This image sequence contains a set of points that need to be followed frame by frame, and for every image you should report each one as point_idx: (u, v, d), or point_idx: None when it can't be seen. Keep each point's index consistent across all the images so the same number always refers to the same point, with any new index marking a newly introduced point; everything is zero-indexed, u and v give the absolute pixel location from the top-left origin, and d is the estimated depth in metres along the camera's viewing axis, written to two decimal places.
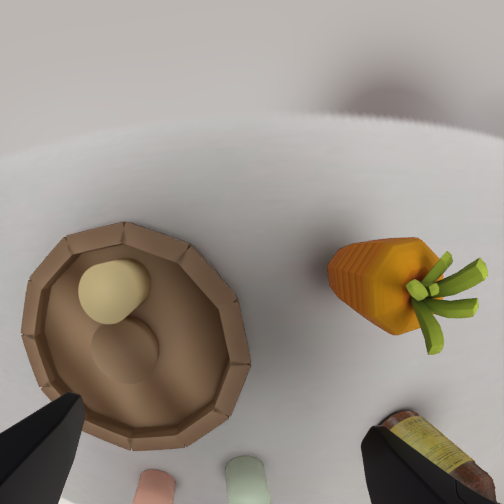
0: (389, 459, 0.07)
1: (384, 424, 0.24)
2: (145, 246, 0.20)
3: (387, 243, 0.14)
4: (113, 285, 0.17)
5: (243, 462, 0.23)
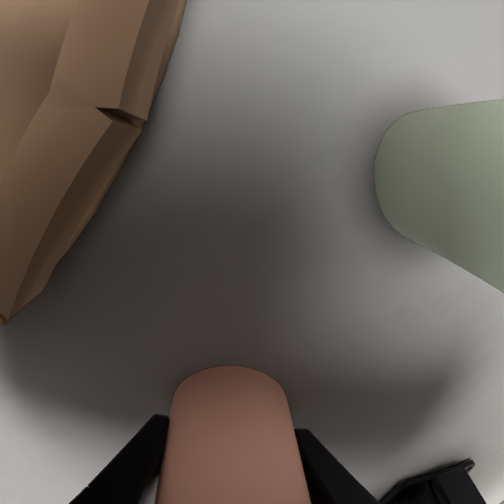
0: (306, 467, 0.07)
1: None
2: None
3: None
4: None
5: (414, 120, 0.06)
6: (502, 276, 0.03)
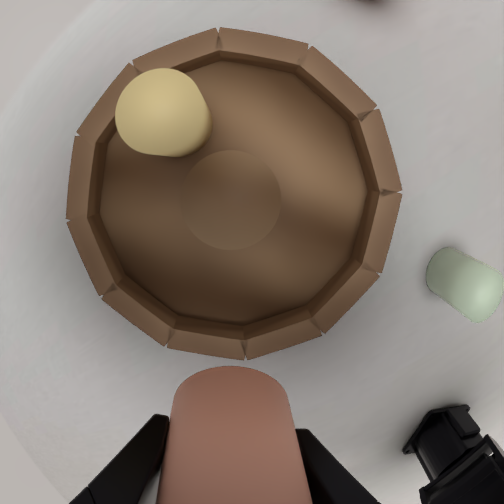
0: (307, 467, 0.07)
1: None
2: (171, 61, 0.13)
3: None
4: (160, 90, 0.11)
5: (442, 258, 0.18)
6: (460, 310, 0.16)
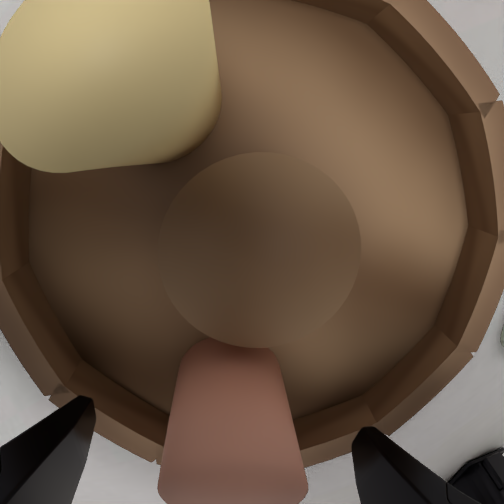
0: (379, 460, 0.07)
1: None
2: None
3: None
4: None
5: None
6: None
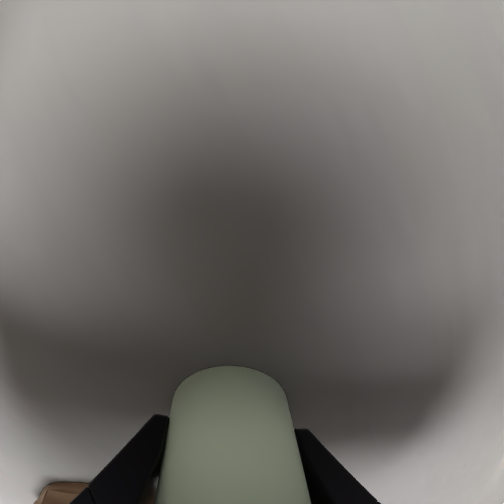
0: (306, 467, 0.07)
1: None
2: None
3: None
4: None
5: None
6: None
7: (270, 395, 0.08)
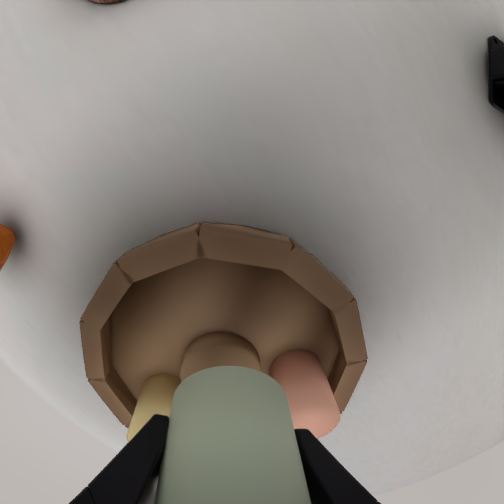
0: (307, 467, 0.07)
1: (108, 0, 0.12)
2: (120, 406, 0.18)
3: None
4: None
5: None
6: None
7: (270, 395, 0.08)
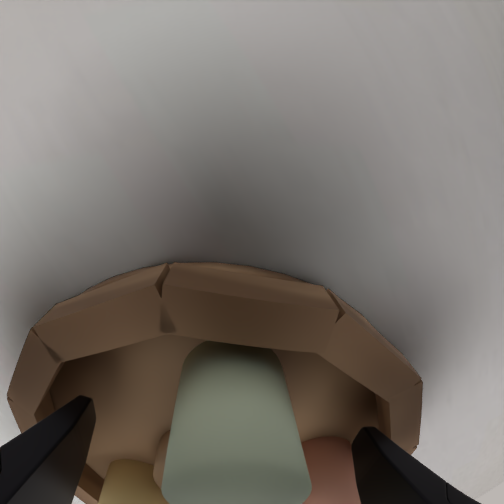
0: (379, 461, 0.07)
1: None
2: (81, 491, 0.10)
3: None
4: None
5: None
6: None
7: (267, 360, 0.09)
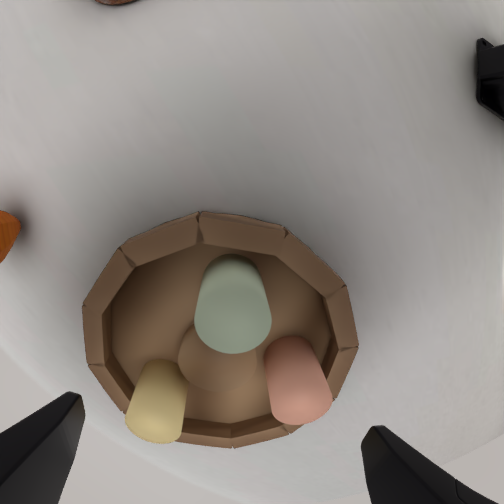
0: (389, 459, 0.07)
1: (115, 2, 0.13)
2: (118, 391, 0.19)
3: None
4: (139, 424, 0.16)
5: None
6: None
7: (251, 264, 0.18)
